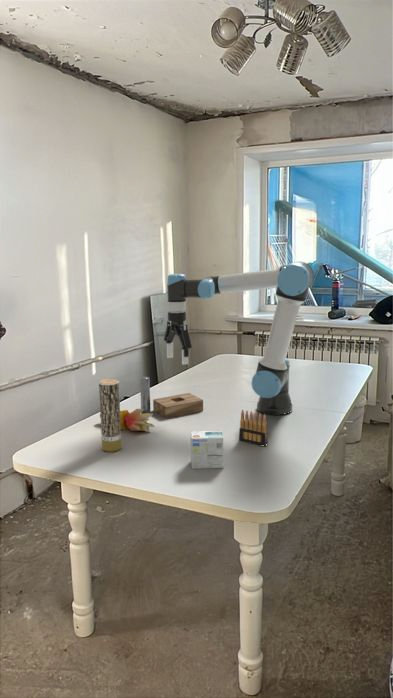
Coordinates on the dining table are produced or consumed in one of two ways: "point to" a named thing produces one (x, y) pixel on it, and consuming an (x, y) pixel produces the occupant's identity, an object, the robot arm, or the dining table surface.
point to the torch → (135, 420)
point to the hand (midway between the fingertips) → (177, 361)
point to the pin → (145, 394)
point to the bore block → (177, 405)
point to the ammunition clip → (253, 429)
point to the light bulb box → (207, 449)
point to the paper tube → (110, 414)
